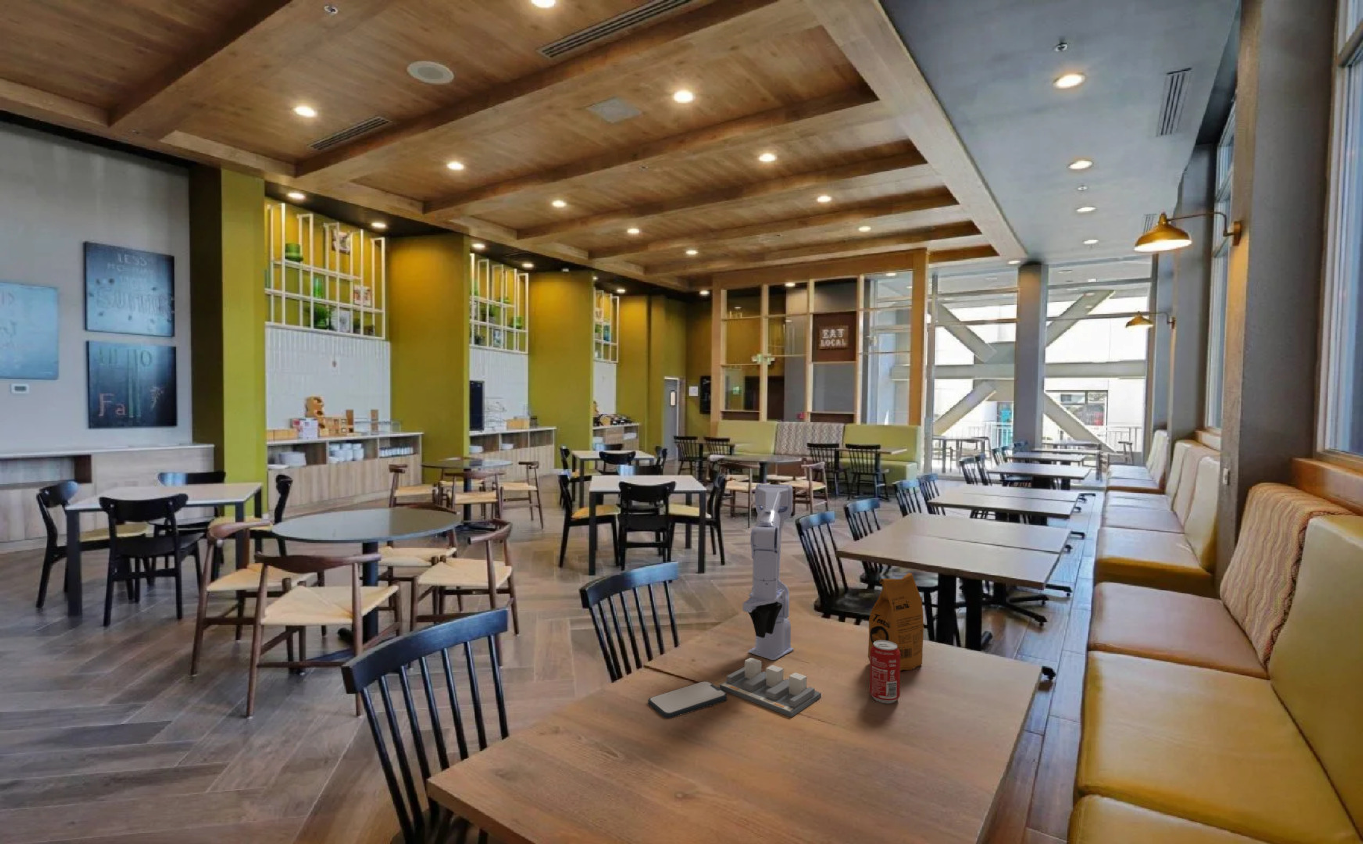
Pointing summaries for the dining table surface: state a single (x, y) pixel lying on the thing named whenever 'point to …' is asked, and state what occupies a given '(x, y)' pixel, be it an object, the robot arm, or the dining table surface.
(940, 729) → the dining table surface
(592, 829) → the dining table surface
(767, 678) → the white rectangular block
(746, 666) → the tab
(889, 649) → the beverage can
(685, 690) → the smartphone
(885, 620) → the coffee package
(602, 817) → the dining table surface
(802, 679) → the tab
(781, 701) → the switch board
